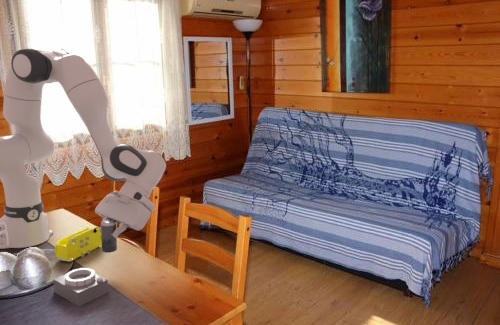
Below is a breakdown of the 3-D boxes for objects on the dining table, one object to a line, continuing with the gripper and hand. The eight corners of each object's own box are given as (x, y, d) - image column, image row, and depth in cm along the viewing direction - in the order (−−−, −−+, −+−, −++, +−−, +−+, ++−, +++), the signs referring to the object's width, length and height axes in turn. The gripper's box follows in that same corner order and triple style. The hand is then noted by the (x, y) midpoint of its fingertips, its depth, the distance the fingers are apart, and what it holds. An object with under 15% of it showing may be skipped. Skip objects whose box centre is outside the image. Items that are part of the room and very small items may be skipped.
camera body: (54, 292, 116) (52, 274, 114) (83, 279, 123) (82, 262, 122) (79, 306, 109) (77, 287, 108) (108, 292, 116) (107, 274, 115)
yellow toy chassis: (69, 265, 132) (67, 241, 130) (55, 261, 134) (53, 238, 133) (103, 246, 147) (102, 224, 145) (91, 244, 149) (89, 222, 147)
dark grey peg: (98, 249, 127) (97, 222, 125) (111, 245, 130) (110, 218, 128) (107, 253, 124) (106, 225, 122) (119, 249, 128) (119, 221, 126)
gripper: (106, 185, 135) (80, 221, 129) (148, 198, 123) (122, 238, 118) (117, 195, 139) (93, 230, 134) (159, 208, 128) (134, 247, 122)
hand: (107, 234), depth 125 cm, fingers closed on dark grey peg, 4 cm apart
